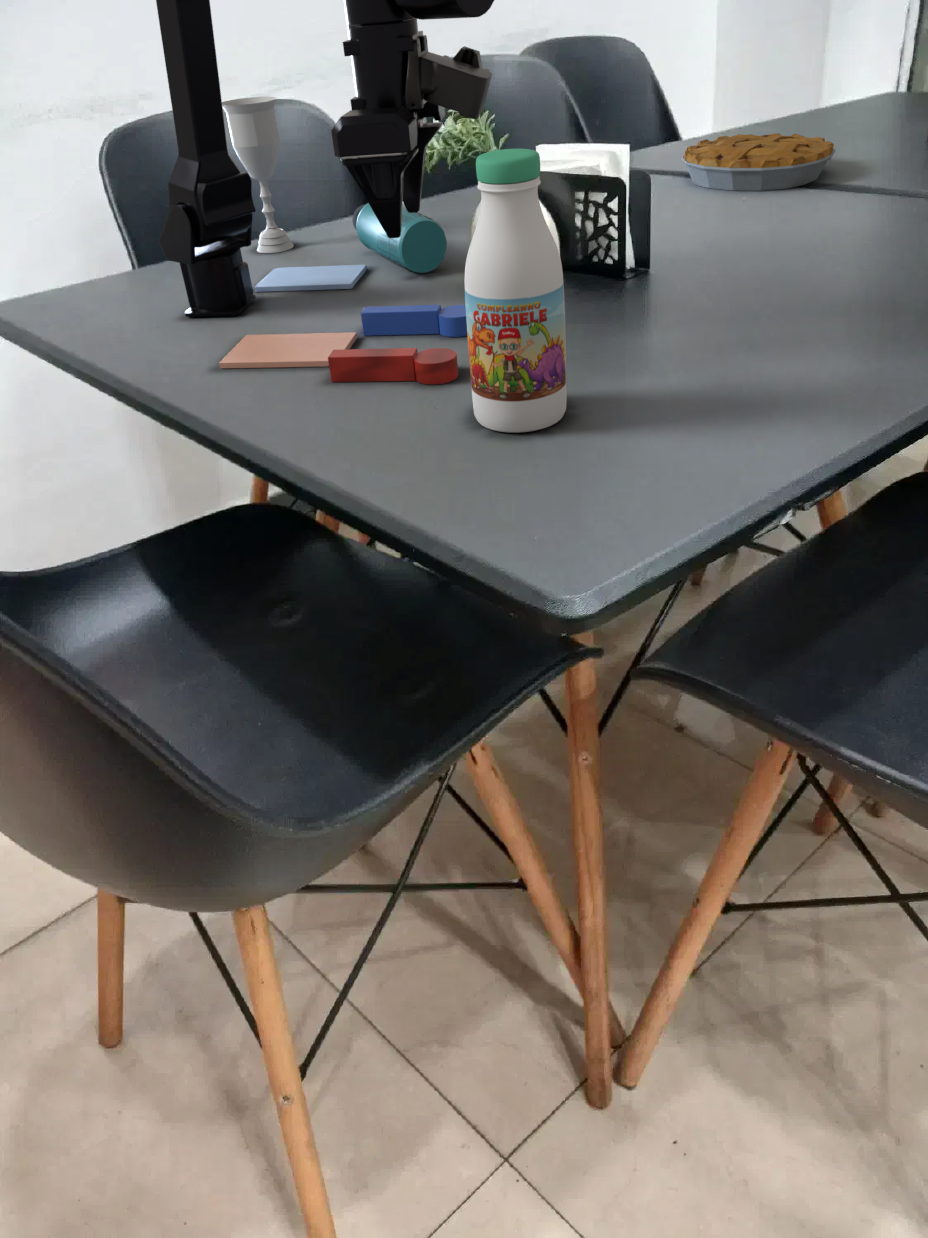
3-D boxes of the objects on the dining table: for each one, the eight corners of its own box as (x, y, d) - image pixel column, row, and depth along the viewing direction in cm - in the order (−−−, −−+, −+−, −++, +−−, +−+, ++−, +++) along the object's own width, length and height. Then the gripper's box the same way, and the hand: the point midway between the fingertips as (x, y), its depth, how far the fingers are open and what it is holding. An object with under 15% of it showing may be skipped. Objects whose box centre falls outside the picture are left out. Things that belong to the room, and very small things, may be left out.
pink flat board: (220, 368, 96) (218, 362, 95) (247, 340, 102) (246, 334, 102) (337, 366, 94) (336, 360, 93) (357, 337, 100) (356, 331, 100)
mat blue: (255, 291, 116) (254, 286, 116) (275, 272, 123) (275, 267, 123) (351, 288, 114) (350, 283, 114) (367, 269, 121) (366, 264, 120)
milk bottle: (469, 402, 84) (449, 149, 72) (558, 393, 84) (552, 138, 72) (478, 440, 77) (457, 168, 66) (574, 429, 78) (570, 157, 66)
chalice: (239, 254, 132) (209, 105, 122) (265, 240, 137) (238, 97, 127) (285, 255, 129) (258, 104, 119) (310, 241, 134) (287, 95, 124)
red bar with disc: (328, 386, 89) (324, 361, 88) (339, 370, 93) (336, 345, 91) (454, 384, 87) (452, 358, 86) (461, 368, 91) (459, 342, 89)
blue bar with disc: (361, 339, 99) (357, 315, 98) (370, 326, 103) (367, 303, 101) (474, 336, 97) (473, 312, 96) (480, 323, 101) (478, 300, 99)
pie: (805, 197, 133) (810, 157, 131) (657, 189, 144) (658, 152, 141) (850, 164, 148) (855, 127, 145) (712, 159, 158) (714, 125, 156)
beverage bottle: (430, 207, 111) (365, 180, 126) (392, 252, 112) (332, 220, 127) (464, 247, 116) (397, 216, 131) (428, 290, 116) (365, 254, 131)
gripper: (464, 22, 70) (480, 247, 79) (493, 5, 85) (504, 195, 94) (315, 35, 72) (347, 254, 80) (369, 16, 87) (391, 202, 95)
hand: (404, 224), depth 87 cm, fingers open, 9 cm apart
